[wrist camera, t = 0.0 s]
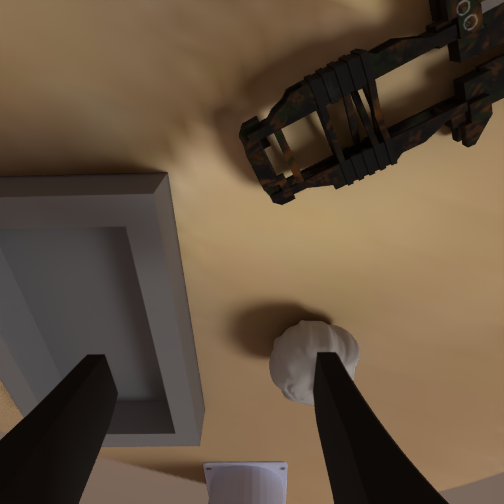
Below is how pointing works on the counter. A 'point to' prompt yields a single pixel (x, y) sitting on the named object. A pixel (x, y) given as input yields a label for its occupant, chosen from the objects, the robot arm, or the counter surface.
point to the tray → (99, 299)
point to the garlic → (308, 356)
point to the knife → (363, 77)
